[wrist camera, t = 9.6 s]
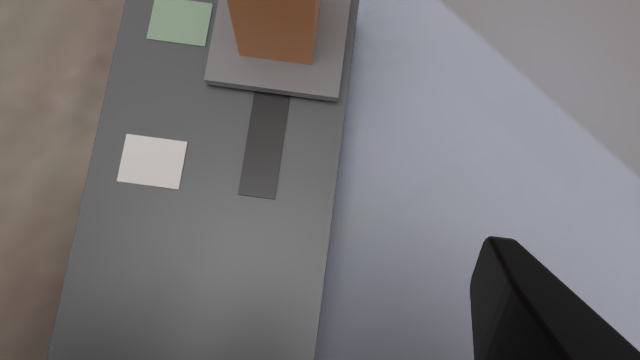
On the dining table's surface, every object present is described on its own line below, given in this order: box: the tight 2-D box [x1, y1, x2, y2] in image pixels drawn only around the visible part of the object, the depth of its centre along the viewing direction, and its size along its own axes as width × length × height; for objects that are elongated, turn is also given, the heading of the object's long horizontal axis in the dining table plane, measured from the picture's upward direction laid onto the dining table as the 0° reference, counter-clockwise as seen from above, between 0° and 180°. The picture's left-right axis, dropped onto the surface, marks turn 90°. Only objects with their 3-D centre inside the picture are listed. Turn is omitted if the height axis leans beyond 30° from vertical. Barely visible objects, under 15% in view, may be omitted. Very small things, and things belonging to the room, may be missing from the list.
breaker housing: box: [47, 0, 359, 360], centre depth 20 cm, size 22×8×3 cm, turn 173°
